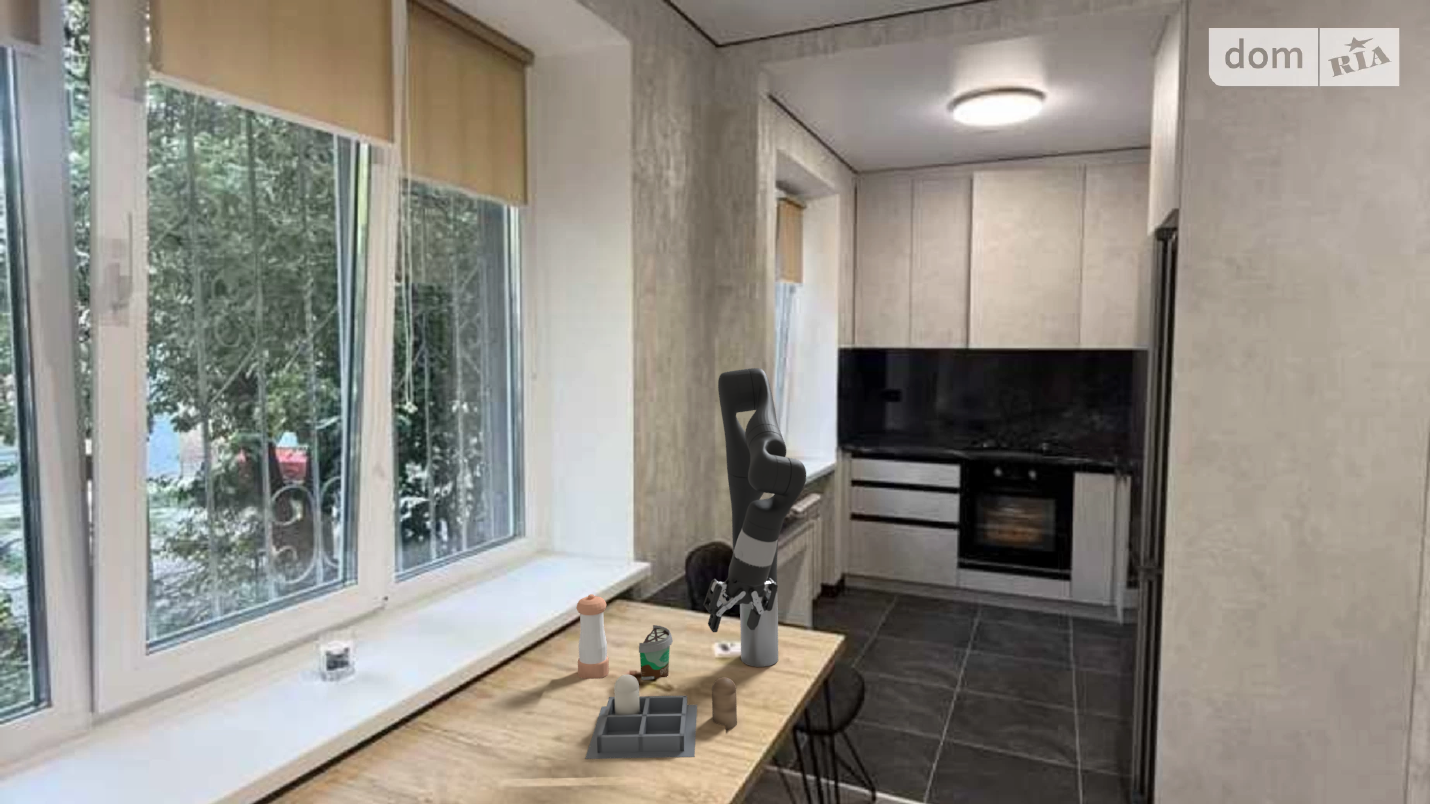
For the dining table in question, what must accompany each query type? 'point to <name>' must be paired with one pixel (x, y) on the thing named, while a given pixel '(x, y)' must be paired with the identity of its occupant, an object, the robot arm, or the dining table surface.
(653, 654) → the food container
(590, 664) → the pepper shaker
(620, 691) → the white dome-top cylinder
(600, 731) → the grey compartment tray
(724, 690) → the brown domed cylinder
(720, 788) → the dining table surface
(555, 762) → the dining table surface
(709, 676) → the dining table surface
